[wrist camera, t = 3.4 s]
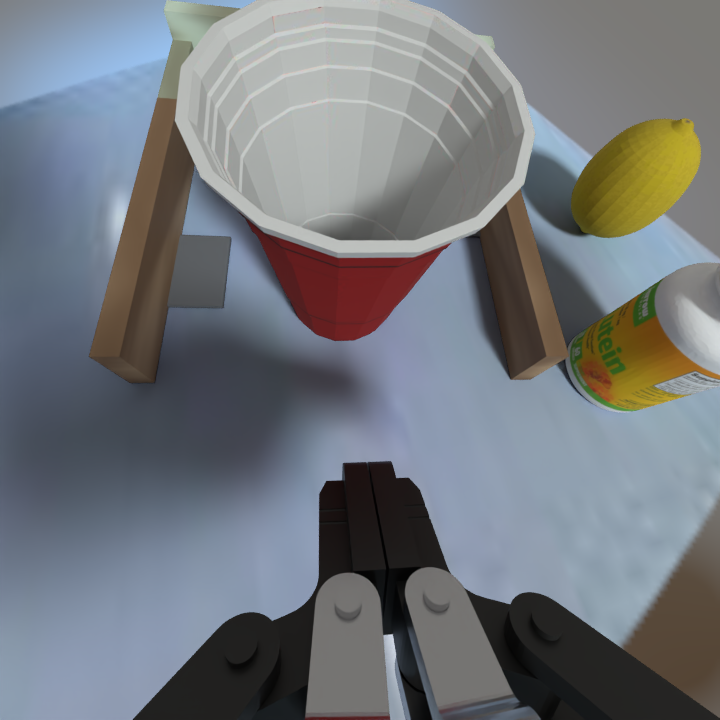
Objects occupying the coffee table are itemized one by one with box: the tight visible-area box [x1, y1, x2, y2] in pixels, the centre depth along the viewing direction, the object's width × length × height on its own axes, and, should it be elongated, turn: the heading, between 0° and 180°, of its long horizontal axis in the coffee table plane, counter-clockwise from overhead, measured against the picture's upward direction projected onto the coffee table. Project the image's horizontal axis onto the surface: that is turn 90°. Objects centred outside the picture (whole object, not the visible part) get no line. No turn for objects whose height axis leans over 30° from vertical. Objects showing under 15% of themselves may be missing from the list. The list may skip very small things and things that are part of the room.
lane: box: [89, 0, 569, 383], centre depth 22 cm, size 22×24×5 cm
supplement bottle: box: [566, 263, 720, 413], centre depth 17 cm, size 5×5×10 cm
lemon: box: [571, 118, 701, 238], centre depth 22 cm, size 6×6×8 cm
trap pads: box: [167, 230, 481, 308], centre depth 23 cm, size 22×6×1 cm, turn 113°
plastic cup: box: [175, 0, 535, 341], centre depth 16 cm, size 11×11×12 cm
